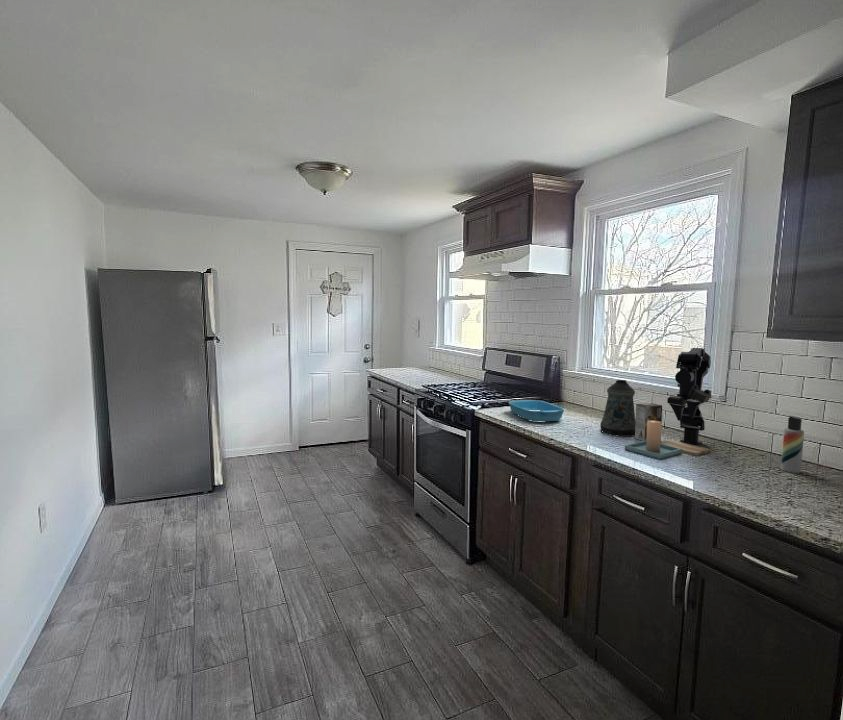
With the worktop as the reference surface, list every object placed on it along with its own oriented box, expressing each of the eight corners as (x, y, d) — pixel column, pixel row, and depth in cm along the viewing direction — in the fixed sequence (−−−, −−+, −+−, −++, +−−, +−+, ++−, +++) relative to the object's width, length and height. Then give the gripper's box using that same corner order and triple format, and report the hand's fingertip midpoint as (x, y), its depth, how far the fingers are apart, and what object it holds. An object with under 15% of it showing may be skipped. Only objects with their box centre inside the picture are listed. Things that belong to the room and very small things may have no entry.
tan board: (670, 442, 208) (670, 439, 207) (710, 452, 193) (710, 449, 193) (655, 446, 202) (655, 443, 202) (696, 456, 187) (696, 453, 187)
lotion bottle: (781, 467, 174) (785, 414, 172) (800, 470, 171) (805, 416, 169) (780, 471, 170) (784, 416, 168) (800, 474, 166) (805, 419, 164)
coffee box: (650, 436, 217) (652, 402, 216) (661, 440, 211) (663, 405, 210) (634, 438, 215) (635, 403, 213) (644, 441, 209) (646, 406, 207)
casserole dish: (503, 411, 274) (503, 399, 273) (538, 410, 279) (538, 398, 278) (531, 426, 238) (532, 412, 237) (571, 424, 243) (571, 410, 242)
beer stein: (602, 435, 219) (604, 382, 217) (597, 426, 238) (599, 377, 236) (640, 437, 216) (643, 383, 213) (632, 428, 234) (634, 378, 232)
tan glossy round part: (657, 448, 195) (658, 420, 194) (661, 452, 190) (663, 423, 189) (644, 448, 196) (645, 420, 195) (648, 451, 191) (649, 423, 190)
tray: (646, 444, 203) (646, 440, 203) (681, 453, 191) (681, 448, 190) (624, 450, 195) (625, 445, 195) (659, 459, 183) (660, 454, 182)
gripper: (695, 386, 182) (693, 425, 183) (720, 383, 192) (717, 420, 193) (667, 382, 191) (665, 420, 193) (692, 379, 201) (690, 415, 202)
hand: (685, 419), depth 195 cm, fingers open, 9 cm apart
